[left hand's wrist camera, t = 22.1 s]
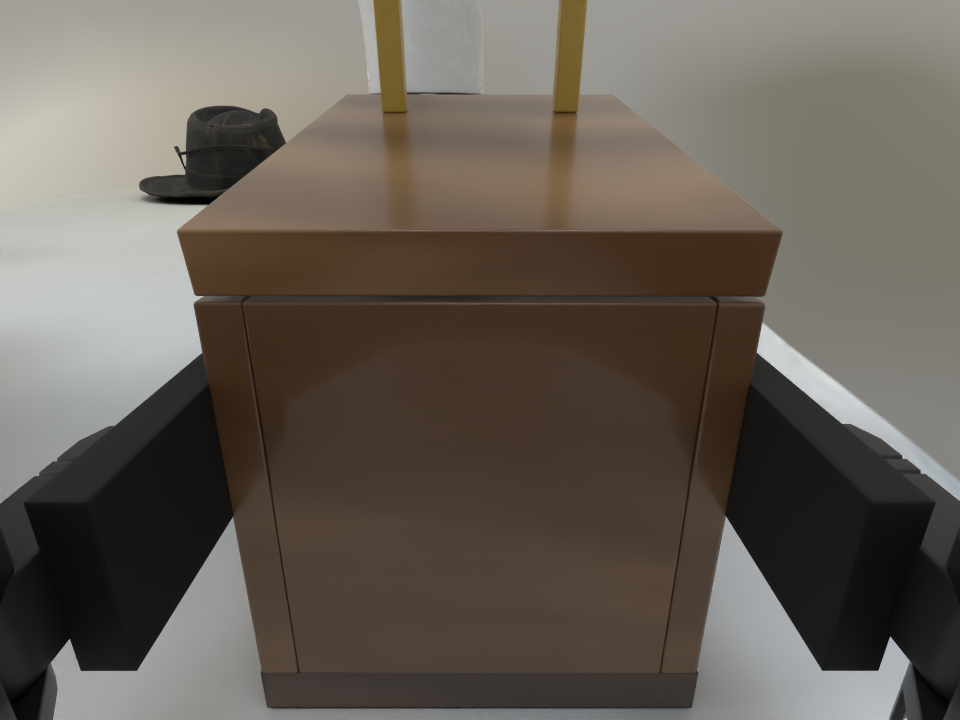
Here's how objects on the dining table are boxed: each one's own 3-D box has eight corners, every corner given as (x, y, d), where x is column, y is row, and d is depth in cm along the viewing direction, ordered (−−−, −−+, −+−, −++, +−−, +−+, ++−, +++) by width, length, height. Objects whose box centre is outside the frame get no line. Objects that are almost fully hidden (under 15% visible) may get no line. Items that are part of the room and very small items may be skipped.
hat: (363, 183, 122) (358, 107, 116) (286, 205, 89) (274, 101, 84) (219, 181, 126) (207, 108, 120) (96, 201, 93) (72, 102, 88)
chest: (369, 426, 25) (351, 201, 21) (590, 426, 25) (608, 202, 22) (267, 707, 13) (190, 302, 10) (691, 707, 13) (768, 303, 10)
